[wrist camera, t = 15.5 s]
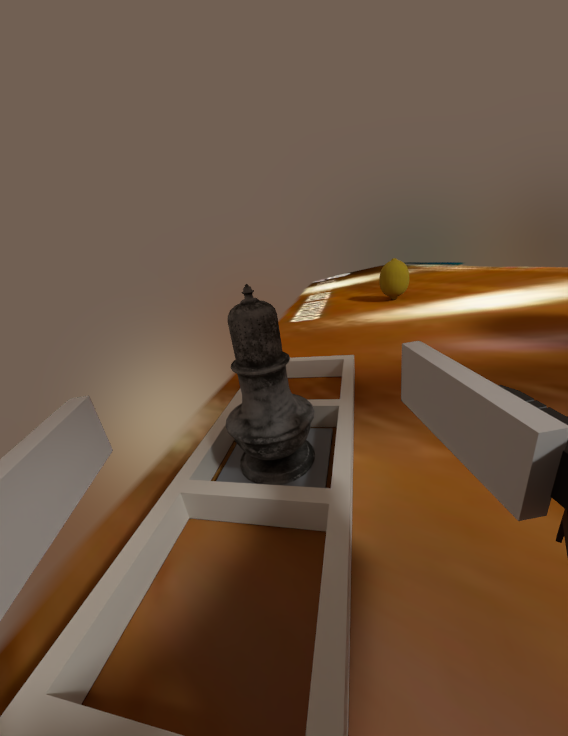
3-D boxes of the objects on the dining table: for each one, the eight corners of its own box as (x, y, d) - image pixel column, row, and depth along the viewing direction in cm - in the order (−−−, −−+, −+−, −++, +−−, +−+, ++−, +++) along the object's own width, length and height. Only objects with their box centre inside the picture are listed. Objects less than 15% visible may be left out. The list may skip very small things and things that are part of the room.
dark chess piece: (309, 494, 18) (281, 289, 13) (221, 483, 20) (170, 299, 15) (325, 435, 23) (309, 271, 18) (254, 430, 25) (223, 280, 20)
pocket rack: (264, 374, 36) (261, 359, 35) (354, 372, 33) (353, 355, 32) (20, 759, 10) (-11, 731, 9) (345, 882, 7) (340, 858, 7)
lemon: (406, 302, 58) (407, 258, 55) (376, 303, 61) (376, 261, 58) (410, 296, 63) (411, 255, 60) (383, 297, 65) (382, 257, 62)
